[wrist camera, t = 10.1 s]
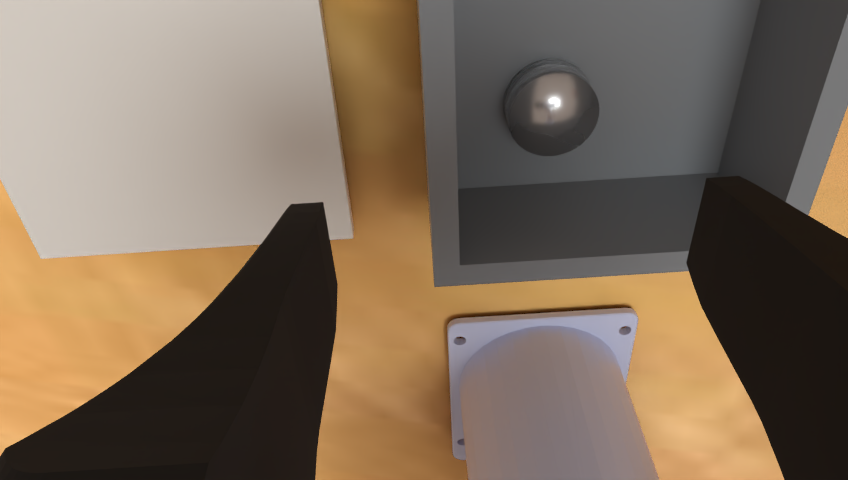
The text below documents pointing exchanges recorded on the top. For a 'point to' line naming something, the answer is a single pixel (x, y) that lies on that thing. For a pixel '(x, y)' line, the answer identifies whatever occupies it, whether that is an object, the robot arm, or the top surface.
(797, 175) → the gray open box
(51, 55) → the white slab
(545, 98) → the chrome dome knob
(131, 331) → the top surface
